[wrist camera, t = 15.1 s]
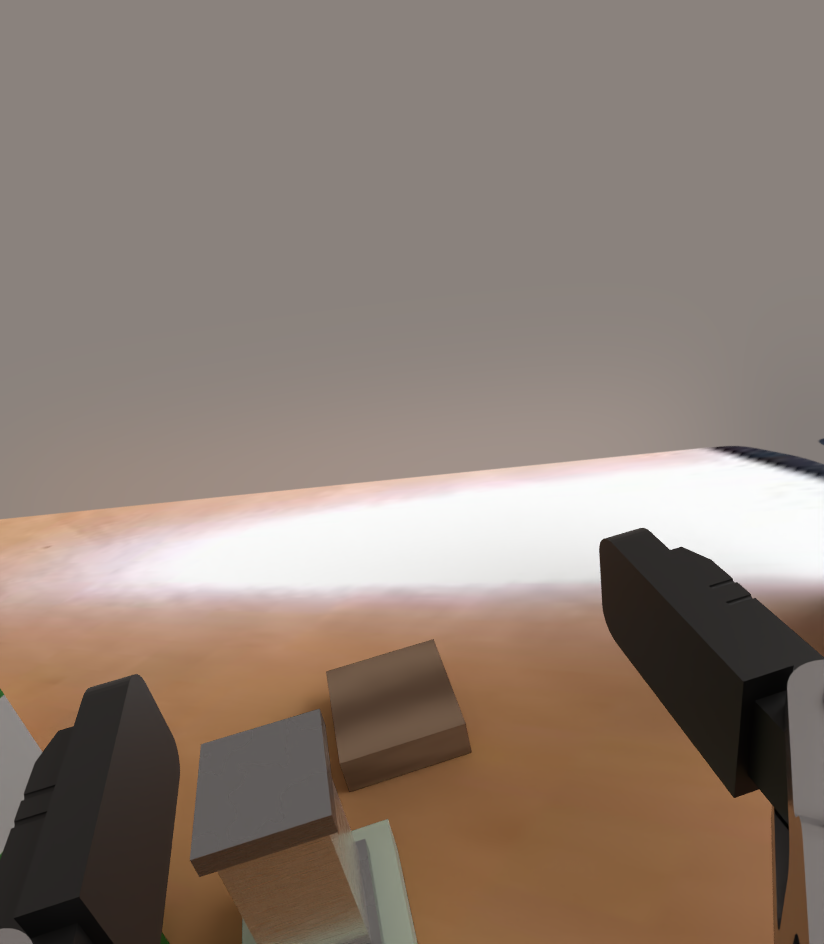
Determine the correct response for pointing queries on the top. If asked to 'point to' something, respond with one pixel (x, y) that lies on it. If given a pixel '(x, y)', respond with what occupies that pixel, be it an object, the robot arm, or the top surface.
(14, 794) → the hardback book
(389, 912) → the green stand
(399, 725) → the walnut stand
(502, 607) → the top surface
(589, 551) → the top surface
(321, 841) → the grey square pedestal
